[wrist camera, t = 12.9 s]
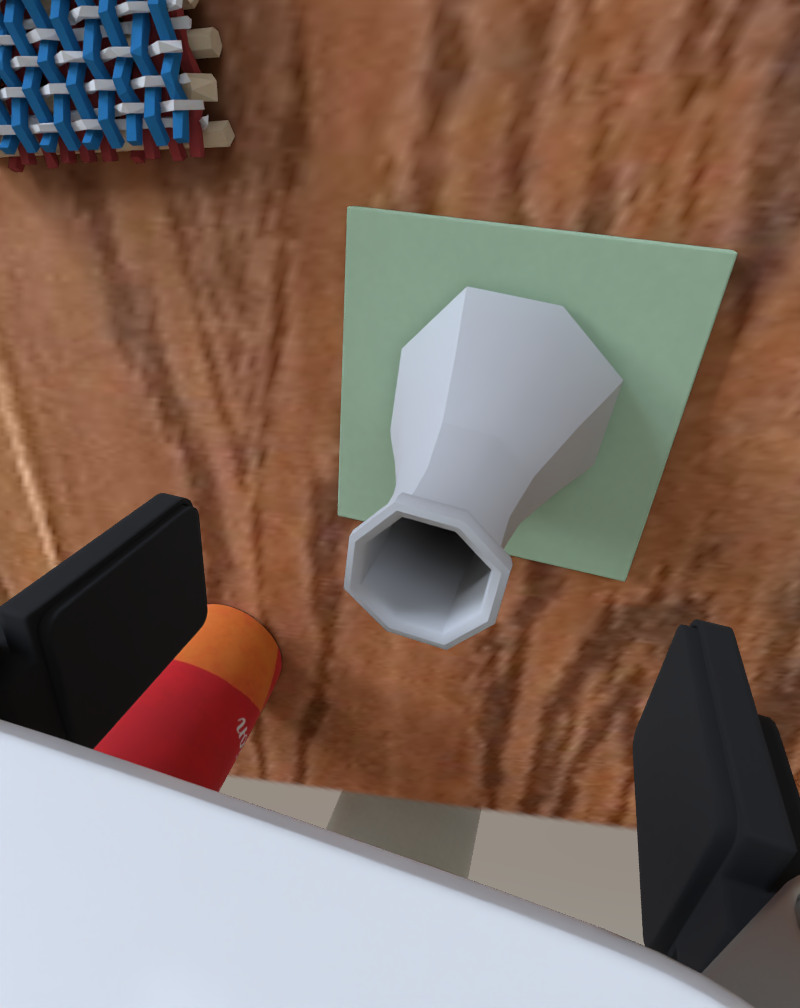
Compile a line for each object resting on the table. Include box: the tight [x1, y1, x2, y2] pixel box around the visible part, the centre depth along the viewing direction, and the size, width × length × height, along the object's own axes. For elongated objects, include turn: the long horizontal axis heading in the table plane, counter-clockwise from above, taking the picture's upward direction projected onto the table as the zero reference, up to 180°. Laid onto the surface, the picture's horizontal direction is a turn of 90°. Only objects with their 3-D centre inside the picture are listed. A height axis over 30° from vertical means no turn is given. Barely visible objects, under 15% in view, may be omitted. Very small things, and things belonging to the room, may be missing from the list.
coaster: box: [338, 206, 737, 581], centre depth 20 cm, size 11×11×1 cm
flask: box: [344, 286, 623, 650], centre depth 16 cm, size 7×7×10 cm
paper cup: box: [93, 604, 282, 792], centre depth 24 cm, size 8×8×14 cm
